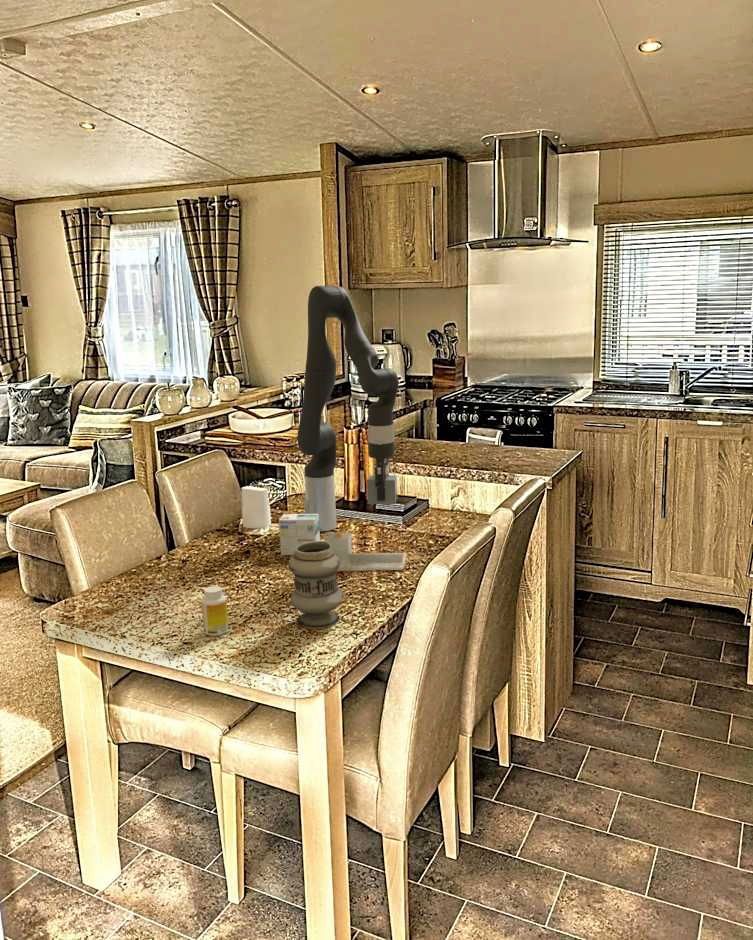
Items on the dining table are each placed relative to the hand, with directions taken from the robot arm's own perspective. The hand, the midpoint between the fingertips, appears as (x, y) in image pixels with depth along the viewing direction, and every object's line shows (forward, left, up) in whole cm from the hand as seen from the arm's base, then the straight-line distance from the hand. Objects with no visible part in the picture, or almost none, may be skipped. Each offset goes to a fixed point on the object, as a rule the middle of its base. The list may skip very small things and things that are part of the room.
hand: (382, 497), depth 244 cm
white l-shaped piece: (-4, -14, -15) cm, 21 cm away
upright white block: (-44, +24, -15) cm, 52 cm away
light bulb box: (-24, -4, -15) cm, 29 cm away
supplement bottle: (-32, -61, -15) cm, 71 cm away
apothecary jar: (-10, -54, -15) cm, 57 cm away
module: (0, 0, -1) cm, 1 cm away
